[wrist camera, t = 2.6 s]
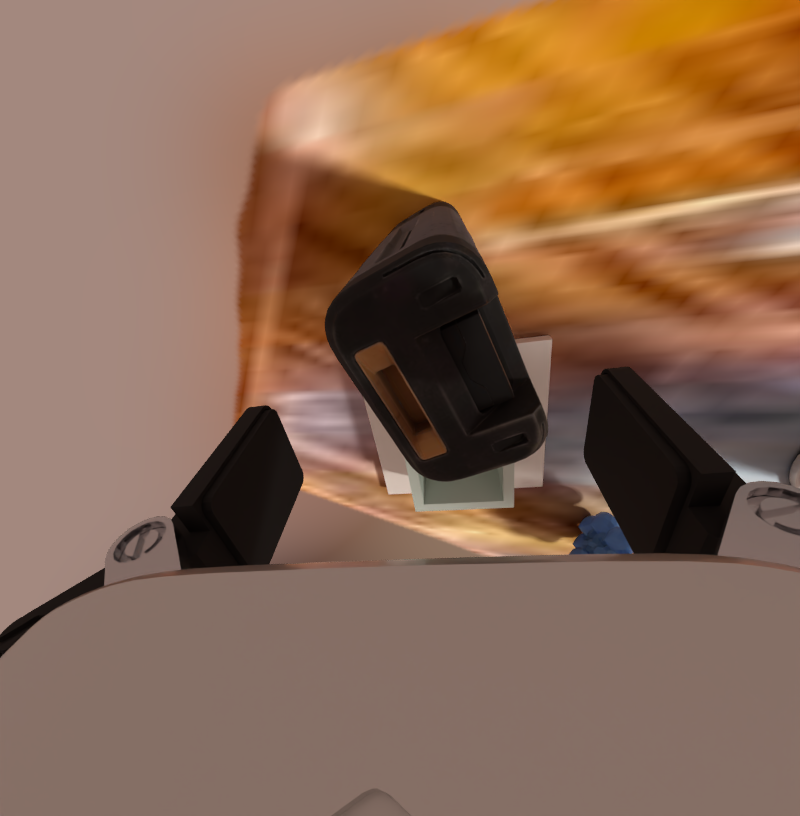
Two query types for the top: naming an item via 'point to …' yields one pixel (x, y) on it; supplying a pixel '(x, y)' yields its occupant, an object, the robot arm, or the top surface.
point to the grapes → (600, 536)
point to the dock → (482, 487)
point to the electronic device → (437, 351)
